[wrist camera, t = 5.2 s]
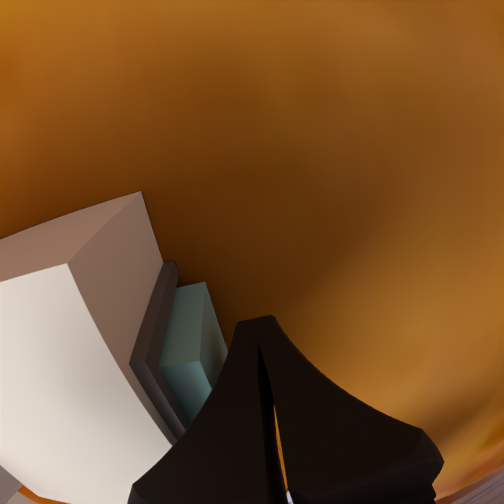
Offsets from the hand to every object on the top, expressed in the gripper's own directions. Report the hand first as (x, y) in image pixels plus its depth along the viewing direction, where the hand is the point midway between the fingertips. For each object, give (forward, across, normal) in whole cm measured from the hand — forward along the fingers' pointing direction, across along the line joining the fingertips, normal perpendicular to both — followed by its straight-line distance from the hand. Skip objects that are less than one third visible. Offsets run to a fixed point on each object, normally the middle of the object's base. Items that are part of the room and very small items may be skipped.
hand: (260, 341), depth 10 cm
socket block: (+2, +8, 0) cm, 8 cm away
